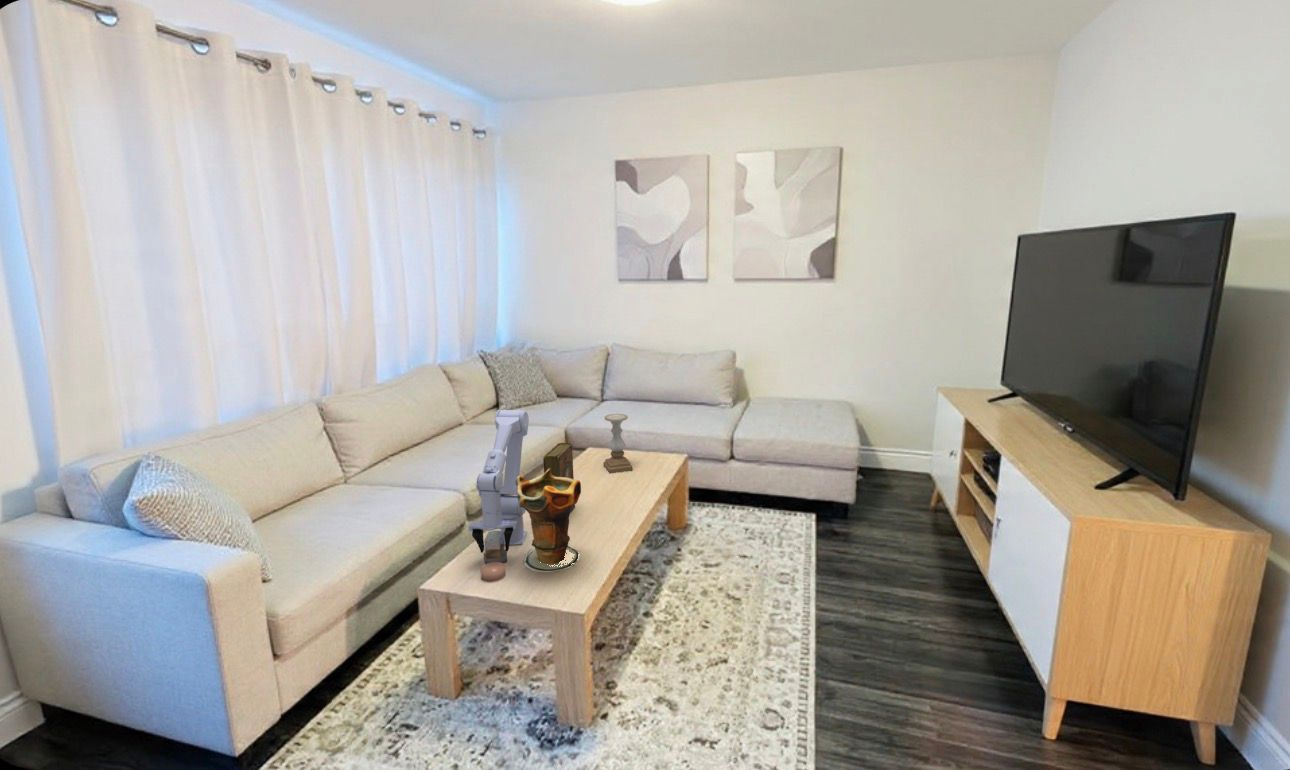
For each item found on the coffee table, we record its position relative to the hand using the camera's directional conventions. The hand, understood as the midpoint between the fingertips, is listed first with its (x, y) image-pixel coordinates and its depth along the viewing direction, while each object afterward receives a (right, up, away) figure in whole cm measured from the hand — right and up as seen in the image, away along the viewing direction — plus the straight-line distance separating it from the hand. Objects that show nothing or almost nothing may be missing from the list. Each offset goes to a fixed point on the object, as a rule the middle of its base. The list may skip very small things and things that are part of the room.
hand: (495, 550), depth 188 cm
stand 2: (+2, -5, -8) cm, 10 cm away
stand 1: (0, -3, +1) cm, 3 cm away
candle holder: (+35, +14, +82) cm, 90 cm away
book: (+16, +4, +34) cm, 38 cm away
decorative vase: (+18, -3, +1) cm, 18 cm away
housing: (0, -1, 0) cm, 1 cm away
